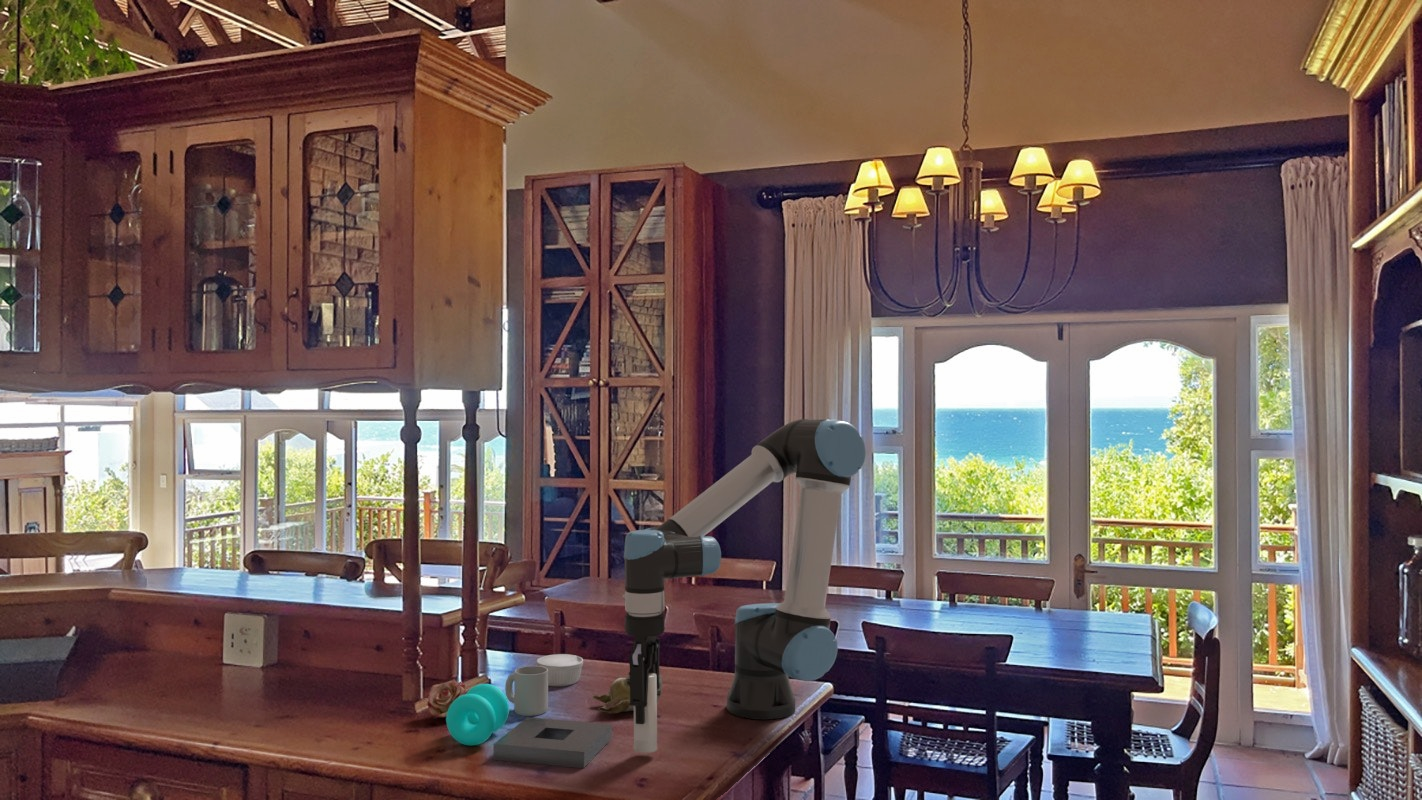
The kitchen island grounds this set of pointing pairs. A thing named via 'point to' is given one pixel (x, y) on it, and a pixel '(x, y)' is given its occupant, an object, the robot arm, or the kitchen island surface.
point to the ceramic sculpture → (620, 696)
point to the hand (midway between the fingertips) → (645, 734)
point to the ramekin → (562, 668)
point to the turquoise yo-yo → (477, 714)
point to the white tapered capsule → (650, 719)
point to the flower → (444, 697)
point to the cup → (528, 690)
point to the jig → (553, 742)
